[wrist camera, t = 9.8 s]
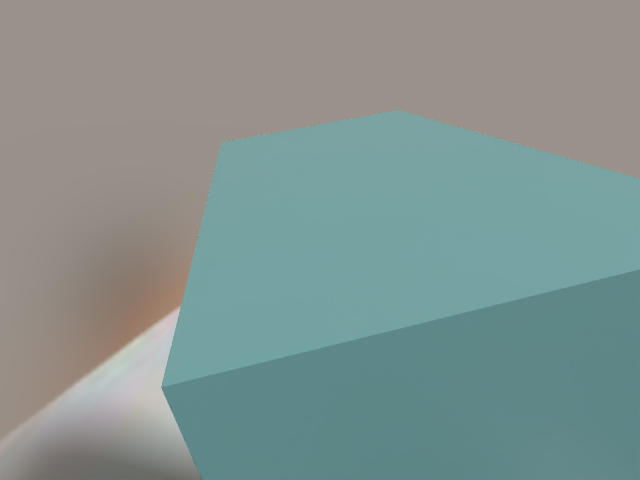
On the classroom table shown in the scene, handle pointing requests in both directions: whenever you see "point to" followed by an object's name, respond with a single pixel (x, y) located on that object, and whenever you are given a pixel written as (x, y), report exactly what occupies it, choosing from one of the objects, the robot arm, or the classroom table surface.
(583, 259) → the book
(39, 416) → the classroom table surface
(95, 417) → the classroom table surface
